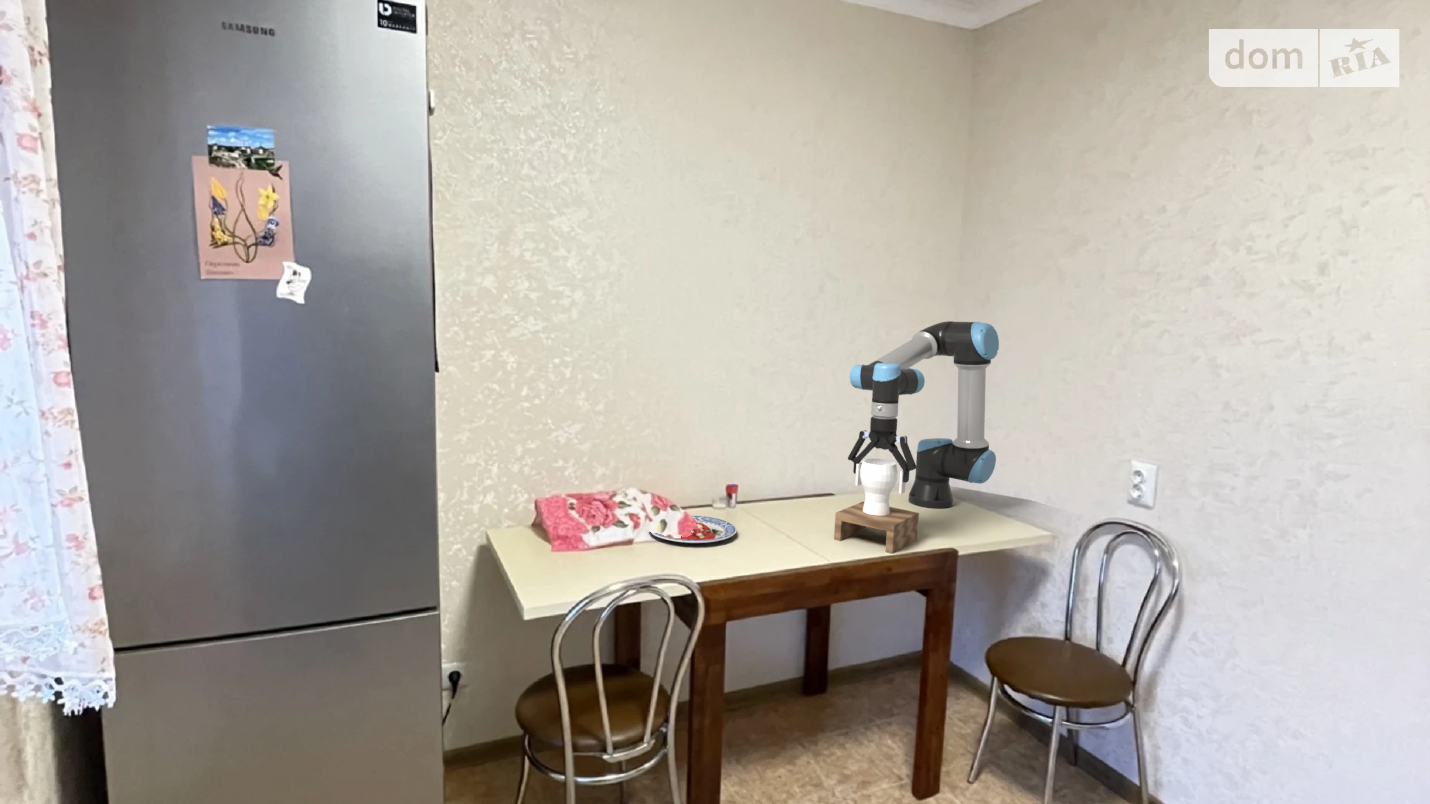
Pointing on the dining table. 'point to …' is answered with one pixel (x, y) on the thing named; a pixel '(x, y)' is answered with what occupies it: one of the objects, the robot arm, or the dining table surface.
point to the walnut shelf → (878, 525)
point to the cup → (878, 485)
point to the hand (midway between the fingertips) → (879, 489)
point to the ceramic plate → (706, 531)
